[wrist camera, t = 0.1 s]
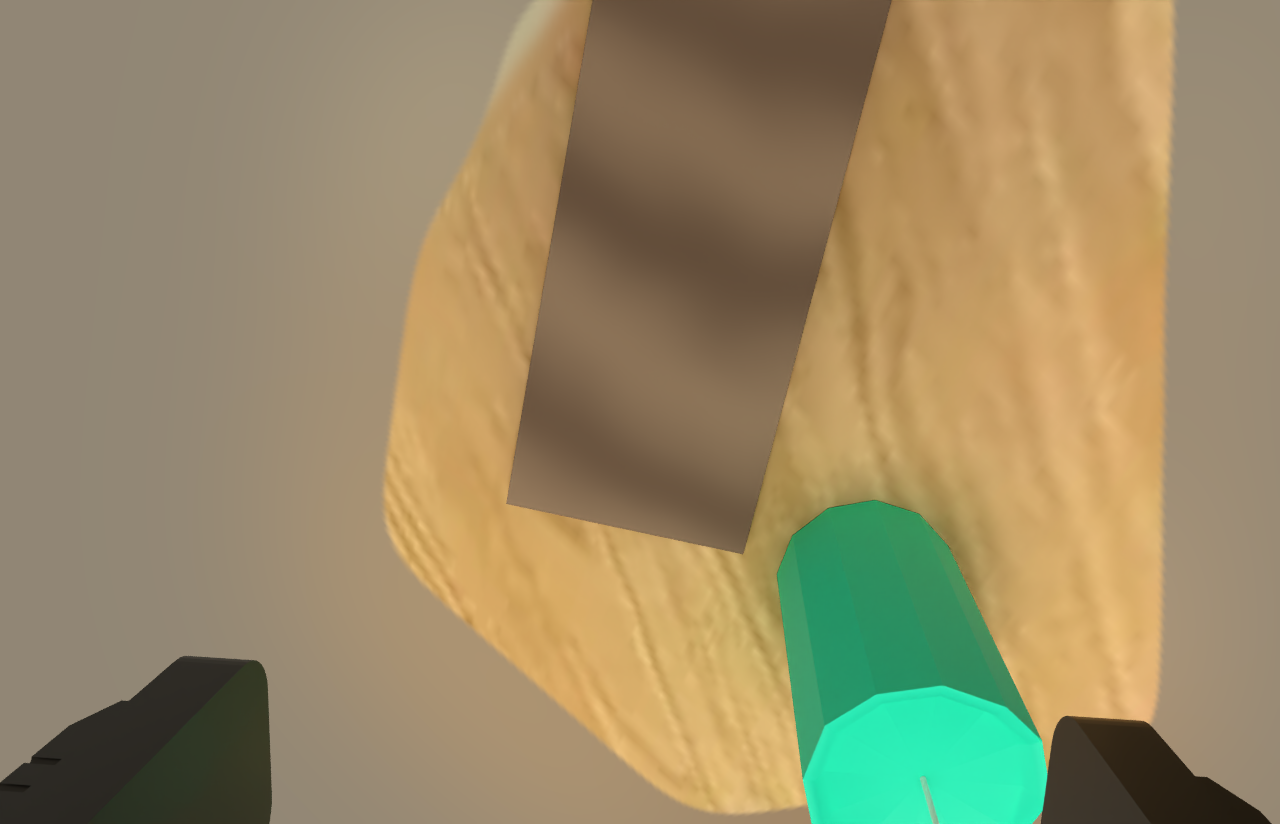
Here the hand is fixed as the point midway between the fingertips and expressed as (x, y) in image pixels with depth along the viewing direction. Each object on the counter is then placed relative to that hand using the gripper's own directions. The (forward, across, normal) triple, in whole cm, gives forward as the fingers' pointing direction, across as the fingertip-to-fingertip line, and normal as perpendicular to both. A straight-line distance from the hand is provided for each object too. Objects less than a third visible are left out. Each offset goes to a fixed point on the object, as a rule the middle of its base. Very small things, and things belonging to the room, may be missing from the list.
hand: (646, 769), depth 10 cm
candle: (+24, -6, +7) cm, 26 cm away
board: (+22, 0, -5) cm, 22 cm away
